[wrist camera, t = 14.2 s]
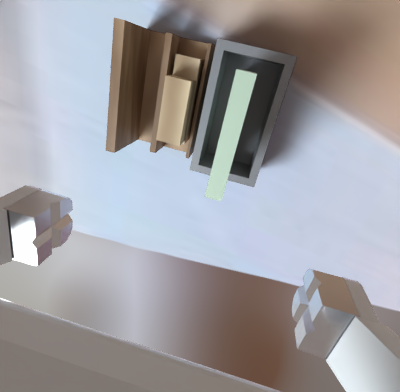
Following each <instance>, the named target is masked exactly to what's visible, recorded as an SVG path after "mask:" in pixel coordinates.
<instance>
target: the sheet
mask: <svg viewBox="0 0 400 392" xmlns="http://www.w3.org/2000/svg"><path fill="white" fill-rule="evenodd" d="M256 76H257V73H255V72H251V71H247V70H240V69H236V72H235V76H234V80H233V85H232V89H231V93H230V97H229V101H228V105H227V109H226V113H225V117H224V121H223V125H222V129H221V133H220V137H219V141H218V145H217V149H216V153H215V157H214V161H213V165H212V169H211V173H210V177H209V181H208V185H207V190H206V194H205V197H207V198H211V199H215V200H218V201H222V197H223V194H224V190H225V187H226V183H227V180H228V176H229V172H230V169H231V165H232V162H233V158H234V155H235V151H236V147H237V144H238V140H239V137H240V133H241V130H242V126H243V122H244V119H245V115H246V112H247V108H248V105H249V101H250V98H251V94H252V90H253V87H254V83H255V80H256Z"/></svg>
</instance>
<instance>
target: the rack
mask: <svg viewBox="0 0 400 392" xmlns="http://www.w3.org/2000/svg"><path fill="white" fill-rule="evenodd" d="M215 47H216V46H215V45H213V44H212V43H208V44H207V43H203V42H199V41H194V40H190V39H186V38H181V37H179V36H177V35H174V34H172V33H168V32H166V34H164V33H160V32H156V31H151V30H149V29H146V28H143V27H141V26H138V25H136V24H133V23H130V22H128V21H125V20H121V19H117V18H114V28H113V44H112V60H111V76H110V92H109V108H108V124H107V140H106V151H110V152H114V153H115V152H117V151H118V150H120V149H122V148H124V147H125V146H127V145H129V144H131V143H132V142H134V141H136V140H138V139H139V140H143V141H146V142H150V143H151V146H150V152H154V153H156V152H157V151H158V150H159V149H161V148H162V147H163V146H165V147H169V148H173V149H176V150H180V151H184V152H187V154H186V158H189V157H190V156H191V154H192V153H193V152H194V147H195V142H196V137H197V133H198V128H199V123H200V118H201V114H202V109H203V104H204V99H205V95H206V90H207V85H208V80H209V75H210V71H211V66H212V61H213V56H214V52H215ZM176 54H180V55H184V56H188V57H193V58H197V59H201V60H205V61H204V66H203V71H202V76H201V81H200V86H199V91H198V96H197V101H196V106H195V111H194V116H193V121H192V126H191V131H190V137H189V140H188V141H187V142H186V143H185V144H181V145H180V146H177V145H173V144H169V143H166V142H162V141H158V140H156V138H157V131H158V124H159V117H160V110H161V103H162V96H163V90H164V83H165V76H166V75H173V69H174V62H175V56H176Z"/></svg>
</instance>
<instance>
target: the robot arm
mask: <svg viewBox="0 0 400 392" xmlns="http://www.w3.org/2000/svg"><path fill="white" fill-rule="evenodd" d="M72 210H73V209H72V200H71V199H70V198H68V197H65V196H62V195H59V194H56V193H52V192H49V191H46V190H42V189H40V188H36V187H33V186H23V187H21V188H19V189H17V190H15V191H13V192H11V193H9V194H7V195H5V196H3V197H1V198H0V265H2V264H4V263H7V262H10V261H12V259H14V260H18V261H21V262H24V263H28V264H31V265H35V266H38V265H40V264H41V263H42V262H43V261H44V260H45V259H46V258H47V257H49V256H50V255H51V254H52V248H55V247H58V246H61V245H62V244H63V243H64V242H66V240H67V239H68V237H69V235H70V234H71V230H72V219H71V218H70V216H69V213H70V212H71V211H72ZM303 281H304V285H303V286H301V287H299V288H298V289H297V291H296V293H295V295H294V299H293V303H292V315H293V319H294V320H295V321H296V322H297V326H296V328H295V337H296V343H297V349H299V350H301V351H304V352H307V353H310V354H313V355H316V356H319V357H322V358H324V359H327V360H326V361H327V363H328V364H329V366H330V368H331V369H332V371H333V372H334V374H335V375H336V377H337V378H338V380H339V381H340V383H341V384H342V386H343V388H344V389H345V391H346V392H400V337H398V336H397V335H396V334H395V333H394V332H393V331H392V330H391V329H390V328H388V327H387V326H386V325H384V324H381V323H380V322H379V320H378V318H377V316H376V313H375V311H374V309H373V307H372V305H371V303H370V301H369V299H368V297H367V295H366V293H365V291H364V289H363V287H362V285H361V284H360V283H359V282H358V281H354V280H350V279H346V278H343V277H338V276H334V275H330V274H327V273H323V272H320V271H316V270H312V269H308V270H307V271H306V273H305V275H304V277H303ZM0 392H281V391H278V390H275V389H271V388H269V387H265V386H263V385H260V384H257V383H254V382H251V381H247V380H244V379H242V378H238V377H236V376H233V375H229V374H227V373H224V372H221V371H218V370H215V369H212V368H209V367H206V366H203V365H200V364H197V363H193V362H191V361H188V360H185V359H182V358H179V357H176V356H173V355H170V354H167V353H164V352H161V351H158V350H155V349H152V348H149V347H146V346H143V345H140V344H137V343H134V342H131V341H128V340H125V339H122V338H119V337H115V336H113V335H110V334H107V333H104V332H101V331H98V330H95V329H91V328H89V327H86V326H82V325H80V324H77V323H74V322H71V321H67V320H65V319H62V318H58V317H56V316H53V315H50V314H46V313H44V312H41V311H38V310H34V309H32V308H29V307H26V306H23V305H19V304H16V303H13V302H11V301H8V300H5V299H1V298H0Z"/></svg>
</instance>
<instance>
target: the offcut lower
mask: <svg viewBox="0 0 400 392" xmlns="http://www.w3.org/2000/svg"><path fill="white" fill-rule="evenodd" d="M204 61H205V60H201V59H197V58H193V57H188V56H184V55H180V54H176V56H175V62H174V69H173V75H175V76H179V77H183V78H187V79H191V80H195V81H196V85H195V90H194V96H193V101H192V106H191V111H190V116H189V122H188V127H187V132H186V137H185V141H184V142H183V143H182V144H185V143H186V142H187V141H188V140H189V137H190V131H191V126H192V121H193V116H194V111H195V106H196V101H197V96H198V91H199V86H200V81H201V76H202V71H203V66H204Z"/></svg>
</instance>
